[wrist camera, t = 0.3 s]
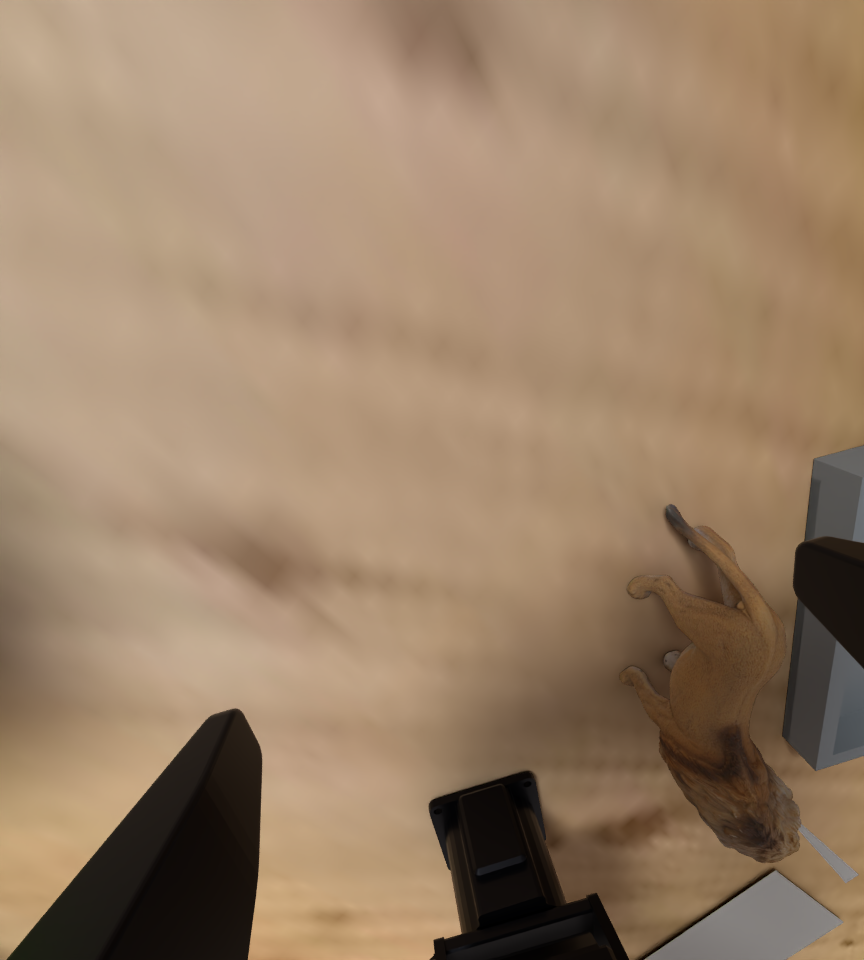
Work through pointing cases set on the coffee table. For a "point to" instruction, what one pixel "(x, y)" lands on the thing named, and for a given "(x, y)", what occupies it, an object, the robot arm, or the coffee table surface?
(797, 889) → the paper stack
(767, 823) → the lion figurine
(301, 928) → the coffee table surface
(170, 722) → the coffee table surface
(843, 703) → the tray
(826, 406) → the coffee table surface
